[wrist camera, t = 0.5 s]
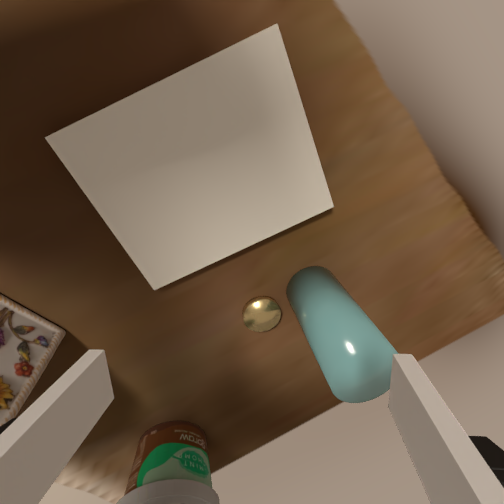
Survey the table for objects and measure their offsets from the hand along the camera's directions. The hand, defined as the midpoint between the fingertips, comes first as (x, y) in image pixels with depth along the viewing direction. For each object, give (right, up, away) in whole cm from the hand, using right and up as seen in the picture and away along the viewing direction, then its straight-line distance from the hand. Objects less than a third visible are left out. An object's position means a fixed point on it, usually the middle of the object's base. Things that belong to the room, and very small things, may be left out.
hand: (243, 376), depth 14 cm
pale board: (-4, +13, +14) cm, 20 cm away
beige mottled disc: (+1, -1, +22) cm, 22 cm away
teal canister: (+7, +1, +22) cm, 23 cm away
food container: (-9, -19, +28) cm, 36 cm away
